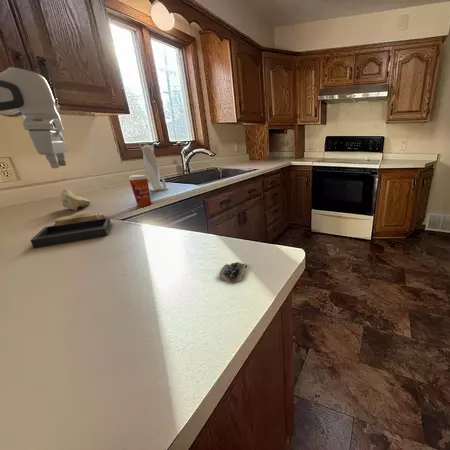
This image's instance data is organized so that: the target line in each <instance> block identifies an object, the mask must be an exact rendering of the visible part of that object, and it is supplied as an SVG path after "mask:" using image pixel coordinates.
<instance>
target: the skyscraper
mask: <svg viewBox="0 0 450 450" xmlns="http://www.w3.org/2000/svg"><path fill="white" fill-rule="evenodd" d="M141 144H143V145H144V146H142V145H141ZM138 145H139V147H140V149H141V152H142V153H143V154H142V156H143V161H142V162H143V167H144V171H145V173H146V174H145V175H146V176H147V177H148V178H147V180H148V182H149V183H150V187H149V191H152V192H157V193H158V192H161V191H166V190H168V187H167V185H166V181H165V180H166V179H165V176H164V173H163V170H162V169H160V166H159V162H158V160H157V157H156V154H155V153H154V151H155V149H154V148H155V147H154V145H151V144H148V143H147V142H139V143H138ZM161 183H162V184H161Z"/></svg>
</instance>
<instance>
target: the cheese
mask: <svg viewBox="0 0 450 450" xmlns="http://www.w3.org/2000/svg"><path fill="white" fill-rule="evenodd" d="M60 201H61V203H62V206H63V207H64V208H65V209H68V211H71V210H72V211H77V210H78V208H85V207H87V206H89V205H90V204H91V200H90V199H89V198H87V197H82V196H80V195H78V194H77V193H74V192H73V191H70V190H68V189H65V188H64V189H62V191H61V193H60Z"/></svg>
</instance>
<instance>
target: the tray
mask: <svg viewBox="0 0 450 450" xmlns="http://www.w3.org/2000/svg"><path fill="white" fill-rule="evenodd" d="M54 225H55V224H54ZM54 225H49V226H44V227H43V228H42V229H41V230H40V231H39V232H38V233H37V234H36V235H34V236H33V237H32V238H31V239H30V243H31V246H32V247H33V249H38V248H42V247H43V248H44V247H49V246H54V245H61V244H67V243H72V242H78V241H83V240H88V239H95V238H100V237H105V236H108V234H109V231H110V228H111V226H112V222H111V218H110V217H103V218H102V219H96V220H89V221H82V222H75V223H68V224H62V225H55V226H54Z"/></svg>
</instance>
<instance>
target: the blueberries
mask: <svg viewBox="0 0 450 450" xmlns="http://www.w3.org/2000/svg"><path fill="white" fill-rule="evenodd" d="M247 268H248V265H247V264H245V263H242V262H239V261H236V262H232V263H230V264H228V263H226V264H224V266H222V268H221V269H220V271H219V274H218V275H219V279H220V280H222V281H225V282H228V283H232V284H234V283H238V282H240V281H242V279H243V276H244V274H243V273H245V271H246V270H247Z"/></svg>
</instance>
